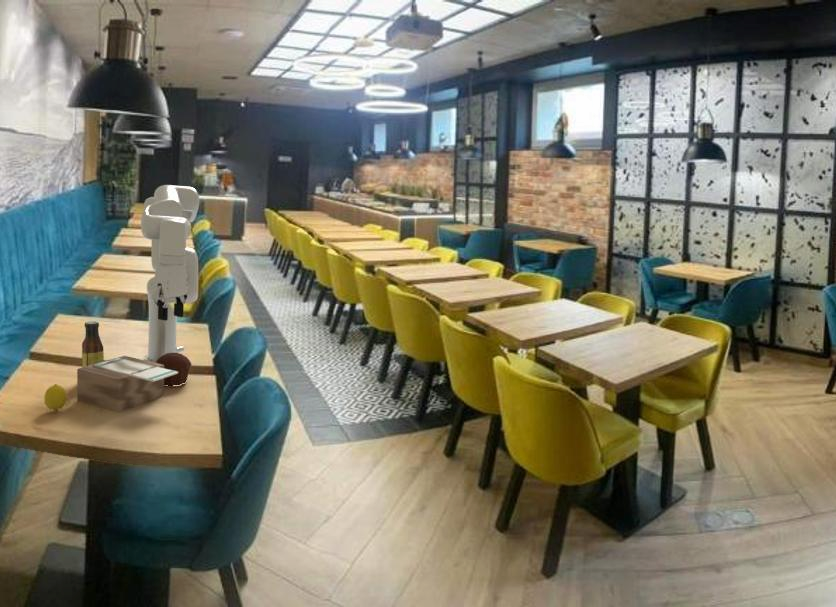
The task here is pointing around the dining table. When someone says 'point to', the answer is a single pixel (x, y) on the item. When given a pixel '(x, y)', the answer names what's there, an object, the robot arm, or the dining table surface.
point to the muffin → (175, 367)
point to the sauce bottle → (92, 345)
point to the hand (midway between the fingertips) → (170, 317)
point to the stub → (155, 374)
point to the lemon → (55, 397)
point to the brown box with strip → (117, 384)
